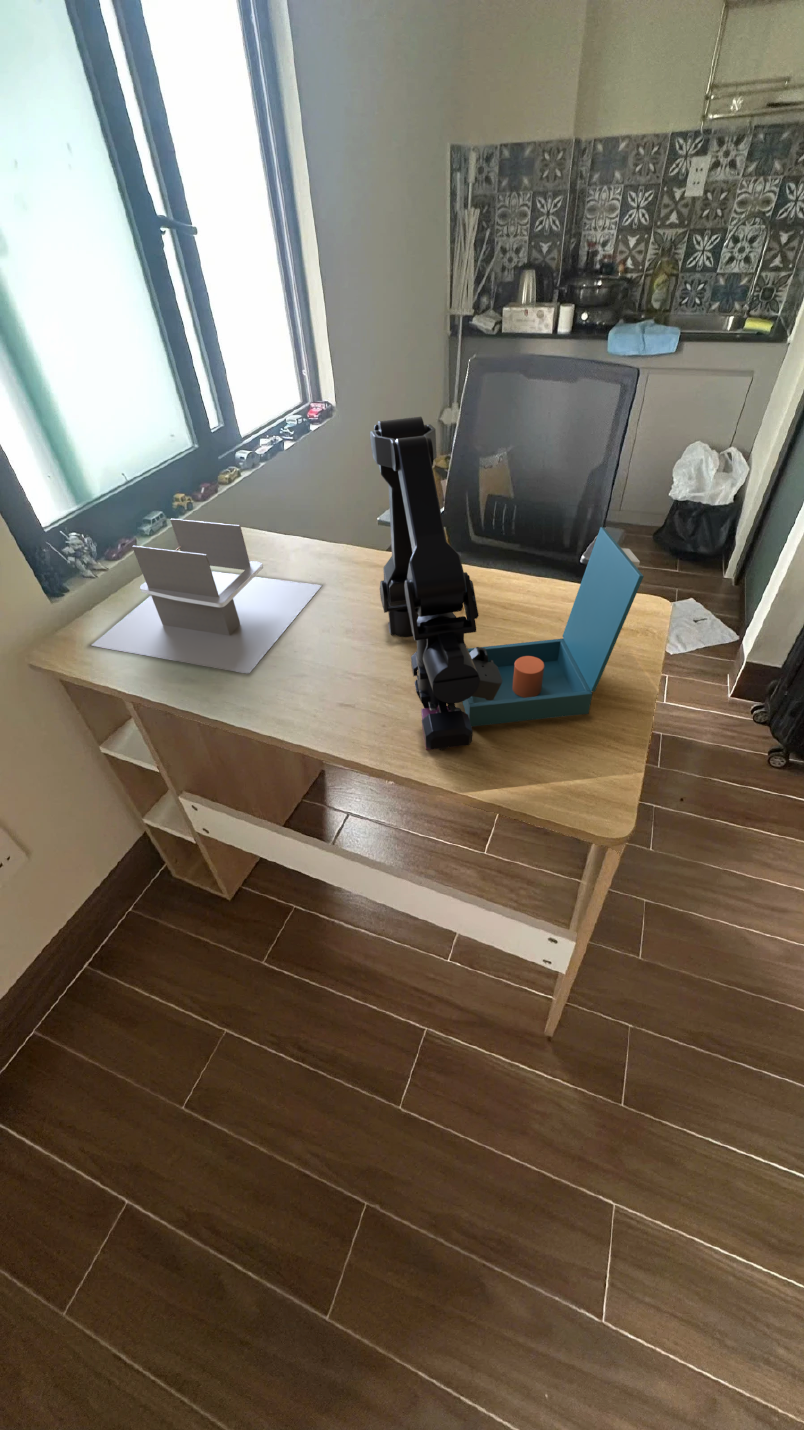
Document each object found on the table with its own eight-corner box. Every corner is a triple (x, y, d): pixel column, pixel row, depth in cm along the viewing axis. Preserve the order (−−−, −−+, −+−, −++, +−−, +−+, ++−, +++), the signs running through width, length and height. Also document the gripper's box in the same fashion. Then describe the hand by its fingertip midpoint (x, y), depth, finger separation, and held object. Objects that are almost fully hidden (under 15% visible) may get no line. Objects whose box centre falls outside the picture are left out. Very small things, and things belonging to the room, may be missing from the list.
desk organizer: (248, 673, 105) (224, 589, 94) (90, 645, 115) (51, 566, 104) (322, 585, 127) (309, 508, 116) (183, 567, 137) (159, 495, 125)
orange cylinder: (516, 699, 95) (518, 675, 92) (509, 681, 98) (511, 657, 95) (544, 696, 95) (547, 671, 92) (536, 678, 99) (539, 654, 95)
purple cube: (426, 753, 88) (425, 729, 85) (422, 732, 92) (421, 708, 88) (459, 750, 89) (459, 725, 85) (454, 729, 92) (454, 704, 89)
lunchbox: (469, 730, 92) (469, 707, 88) (453, 672, 102) (453, 649, 99) (587, 717, 92) (592, 693, 89) (560, 661, 103) (563, 638, 100)
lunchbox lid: (639, 575, 76) (658, 577, 76) (600, 526, 87) (617, 528, 87) (591, 691, 89) (607, 692, 89) (562, 636, 99) (576, 637, 100)
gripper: (514, 692, 73) (507, 777, 83) (484, 610, 86) (481, 692, 97) (424, 702, 72) (428, 786, 83) (408, 618, 86) (413, 700, 97)
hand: (440, 737), depth 90 cm, fingers closed on purple cube, 5 cm apart
